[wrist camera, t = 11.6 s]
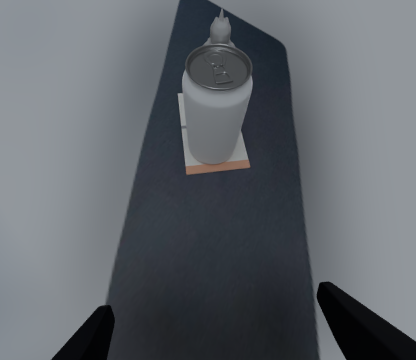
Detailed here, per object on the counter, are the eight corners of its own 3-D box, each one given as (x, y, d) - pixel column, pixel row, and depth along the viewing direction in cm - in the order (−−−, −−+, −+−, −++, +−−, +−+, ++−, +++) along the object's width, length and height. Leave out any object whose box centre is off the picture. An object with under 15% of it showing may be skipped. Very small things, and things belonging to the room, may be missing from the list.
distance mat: (250, 167, 26) (250, 167, 26) (186, 175, 26) (186, 174, 25) (230, 90, 32) (230, 89, 32) (178, 94, 31) (177, 93, 31)
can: (227, 123, 29) (243, 36, 18) (240, 160, 27) (269, 86, 16) (184, 131, 28) (173, 45, 17) (194, 170, 26) (188, 99, 15)
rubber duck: (231, 53, 35) (240, -2, 28) (234, 79, 33) (244, 26, 25) (201, 53, 35) (202, -3, 28) (202, 79, 33) (202, 25, 25)
